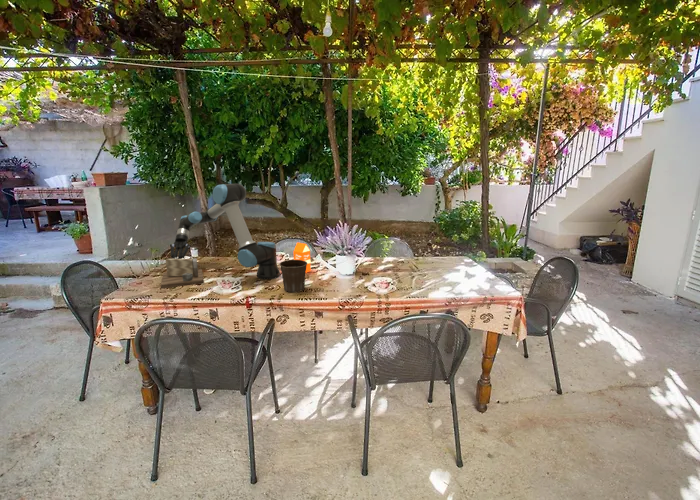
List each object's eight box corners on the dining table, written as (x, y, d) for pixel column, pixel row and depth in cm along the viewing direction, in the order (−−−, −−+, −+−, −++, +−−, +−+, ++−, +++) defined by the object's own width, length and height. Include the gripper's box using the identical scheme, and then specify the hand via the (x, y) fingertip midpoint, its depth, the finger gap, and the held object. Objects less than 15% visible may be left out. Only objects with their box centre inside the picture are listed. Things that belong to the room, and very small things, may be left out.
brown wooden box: (203, 283, 230) (201, 261, 227) (161, 288, 221) (158, 266, 218) (202, 271, 255) (200, 251, 252) (163, 275, 246) (161, 255, 243)
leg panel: (194, 275, 238) (193, 258, 235) (193, 276, 236) (191, 259, 233) (169, 275, 239) (167, 258, 236) (167, 276, 237) (165, 259, 234)
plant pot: (310, 292, 214) (309, 265, 210) (282, 295, 209) (281, 268, 206) (305, 283, 229) (304, 258, 225) (279, 286, 224) (278, 260, 221)
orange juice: (303, 273, 250) (302, 244, 245) (293, 271, 255) (292, 243, 250) (311, 270, 256) (310, 242, 251) (301, 268, 261) (301, 241, 256)
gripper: (194, 239, 254) (187, 269, 242) (174, 239, 253) (166, 269, 241) (190, 233, 247) (183, 264, 236) (170, 233, 247) (162, 264, 235)
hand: (175, 267), depth 239 cm, fingers closed
